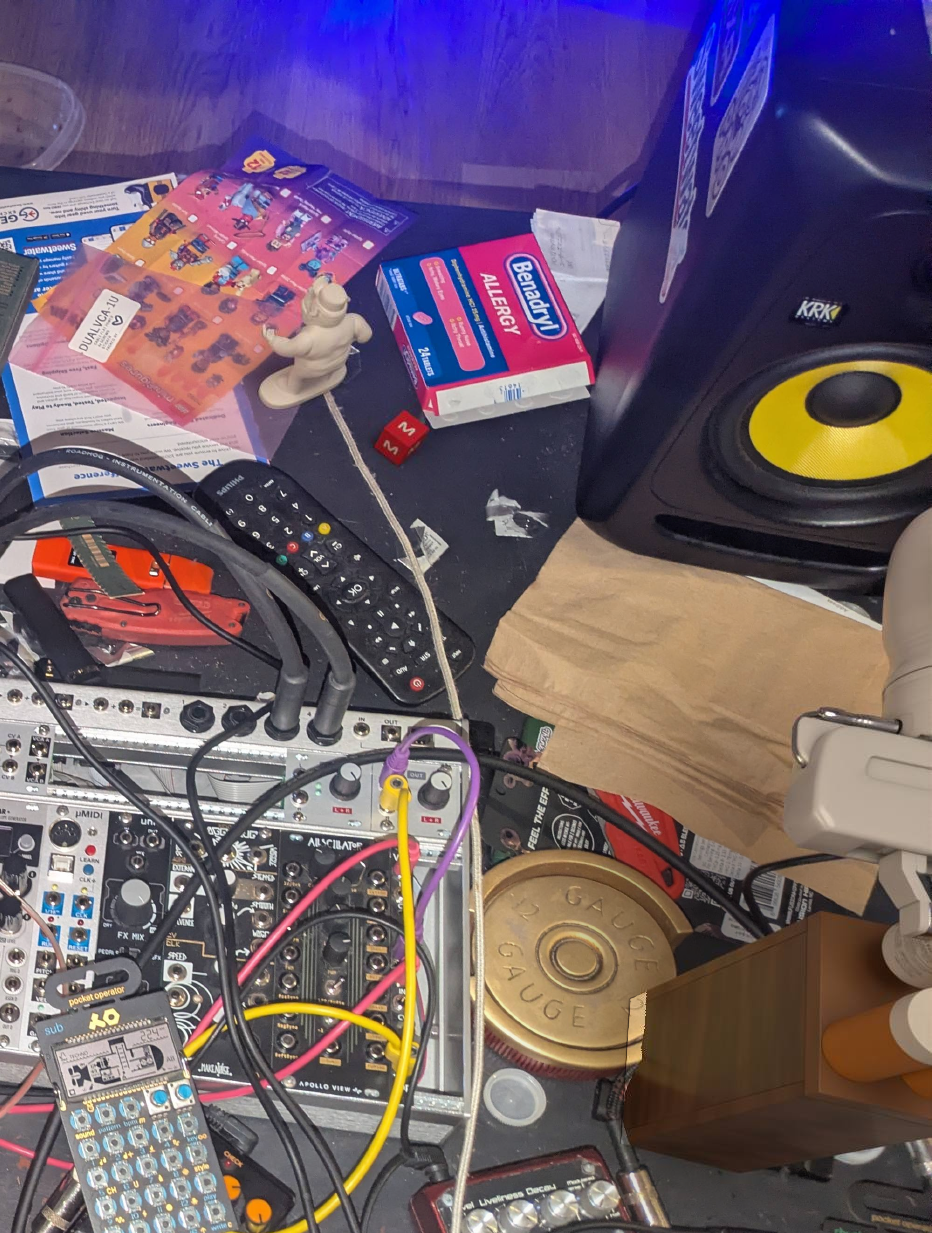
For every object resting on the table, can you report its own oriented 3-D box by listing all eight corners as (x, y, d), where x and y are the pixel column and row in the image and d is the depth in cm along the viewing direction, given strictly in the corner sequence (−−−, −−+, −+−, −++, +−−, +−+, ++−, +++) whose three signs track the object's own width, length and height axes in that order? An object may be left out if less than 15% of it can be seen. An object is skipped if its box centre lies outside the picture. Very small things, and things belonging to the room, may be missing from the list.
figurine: (321, 338, 135) (357, 249, 124) (357, 386, 133) (398, 300, 121) (241, 373, 134) (271, 286, 122) (277, 422, 131) (311, 338, 120)
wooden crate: (745, 1024, 109) (954, 949, 87) (740, 1173, 105) (958, 1133, 83) (629, 998, 110) (807, 916, 88) (619, 1143, 106) (803, 1096, 84)
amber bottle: (891, 1026, 84) (986, 997, 77) (891, 1092, 83) (988, 1069, 75) (820, 1009, 85) (907, 979, 77) (818, 1075, 83) (908, 1050, 76)
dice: (418, 448, 130) (429, 428, 127) (398, 466, 129) (409, 447, 126) (394, 429, 131) (404, 409, 128) (373, 447, 130) (383, 428, 127)
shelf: (954, 949, 87) (971, 943, 86) (958, 1133, 83) (976, 1129, 82) (807, 916, 88) (821, 909, 87) (803, 1096, 84) (818, 1092, 83)
